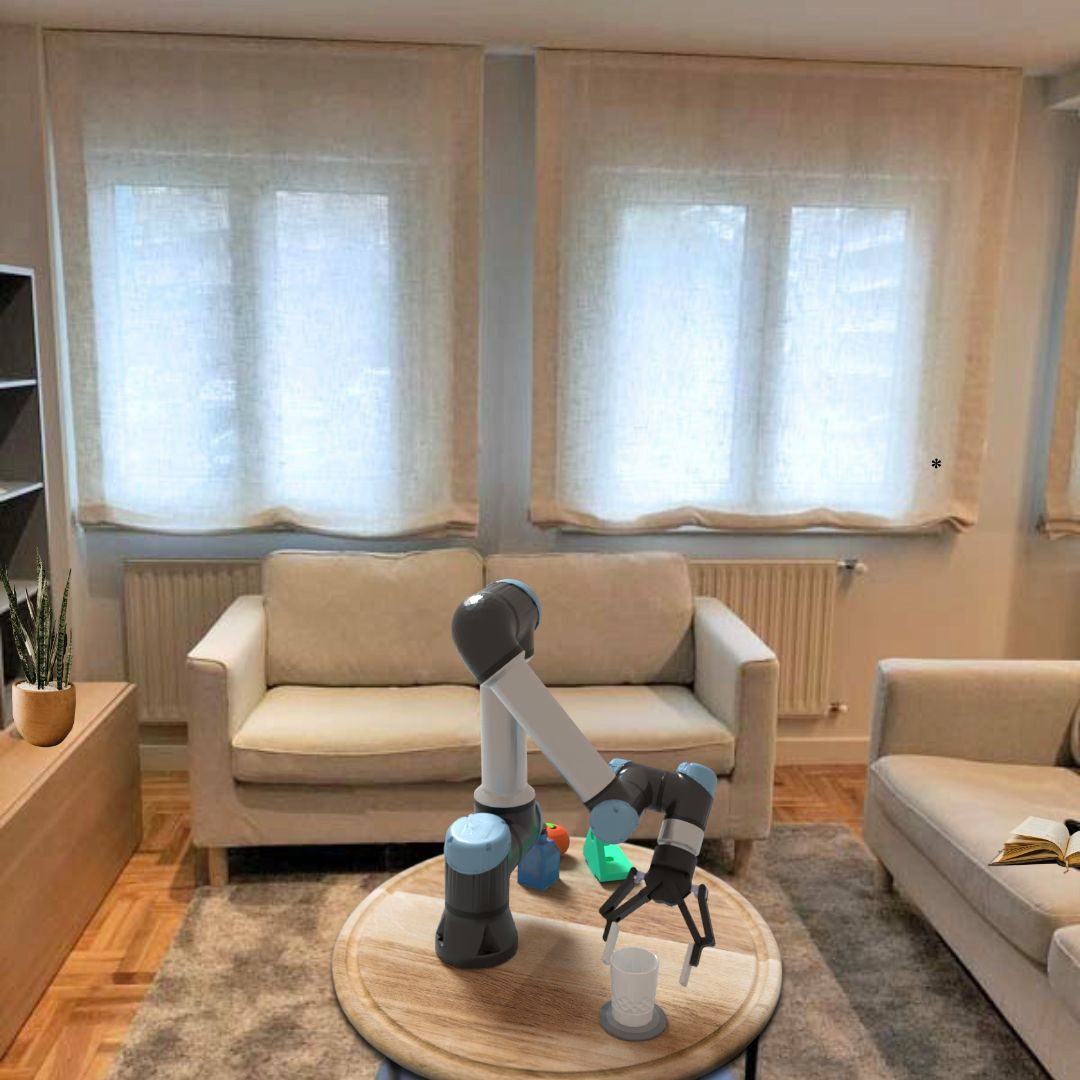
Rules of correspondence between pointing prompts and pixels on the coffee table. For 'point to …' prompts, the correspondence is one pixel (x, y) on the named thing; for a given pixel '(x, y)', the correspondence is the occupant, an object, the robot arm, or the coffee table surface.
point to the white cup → (633, 985)
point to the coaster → (632, 1033)
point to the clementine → (558, 837)
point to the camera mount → (605, 859)
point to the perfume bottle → (540, 863)
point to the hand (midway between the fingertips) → (643, 973)
